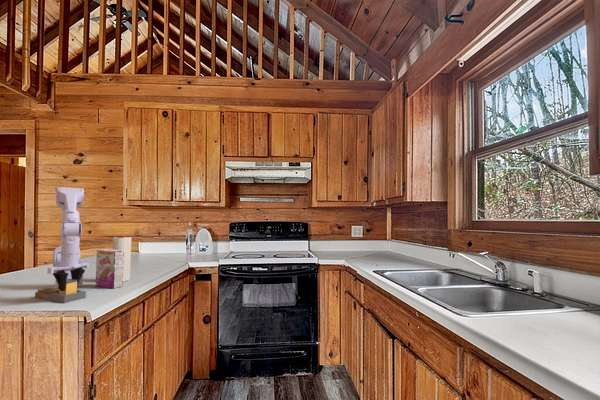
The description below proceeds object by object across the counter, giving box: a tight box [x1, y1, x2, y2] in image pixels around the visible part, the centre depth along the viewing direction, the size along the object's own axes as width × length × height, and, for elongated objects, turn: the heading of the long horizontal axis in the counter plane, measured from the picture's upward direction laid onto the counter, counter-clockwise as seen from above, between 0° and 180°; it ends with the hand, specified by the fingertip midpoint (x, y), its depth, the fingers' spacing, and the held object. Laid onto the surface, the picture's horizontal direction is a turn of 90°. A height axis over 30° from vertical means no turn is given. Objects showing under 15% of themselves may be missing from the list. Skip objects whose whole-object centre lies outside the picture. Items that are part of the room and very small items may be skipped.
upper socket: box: [34, 286, 59, 301], centre depth 128 cm, size 9×9×3 cm
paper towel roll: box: [112, 236, 133, 283], centre depth 157 cm, size 7×6×21 cm
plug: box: [59, 279, 78, 295], centre depth 124 cm, size 4×4×5 cm
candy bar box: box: [95, 248, 124, 290], centre depth 146 cm, size 11×5×16 cm, turn 71°
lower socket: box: [49, 289, 87, 304], centre depth 124 cm, size 8×8×3 cm
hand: (68, 289), depth 124 cm, fingers closed on plug, 4 cm apart
